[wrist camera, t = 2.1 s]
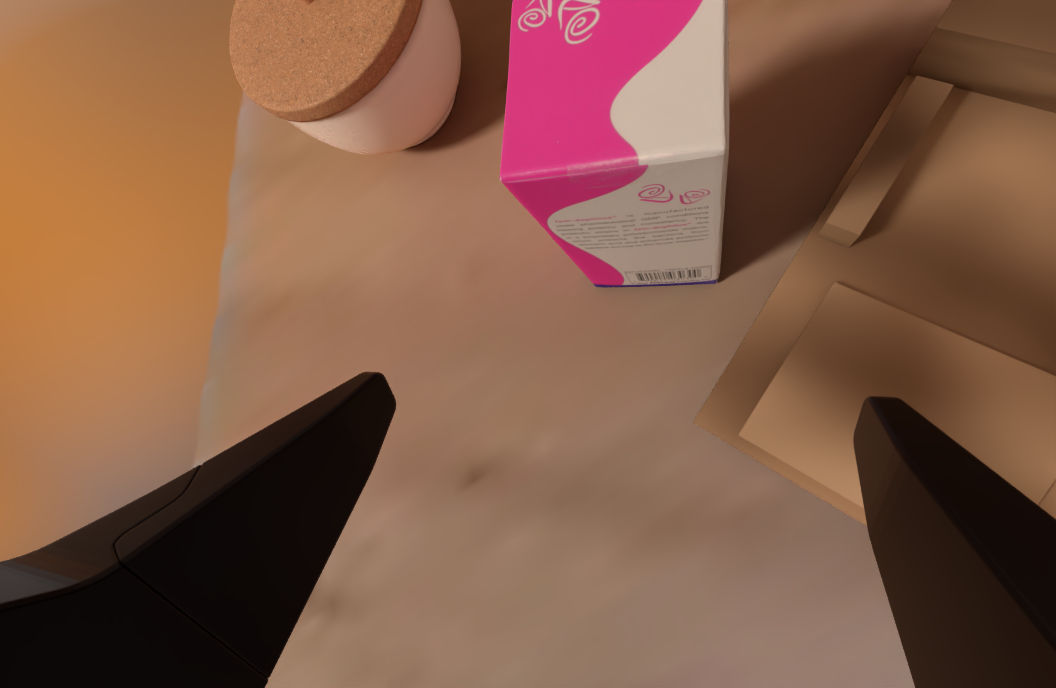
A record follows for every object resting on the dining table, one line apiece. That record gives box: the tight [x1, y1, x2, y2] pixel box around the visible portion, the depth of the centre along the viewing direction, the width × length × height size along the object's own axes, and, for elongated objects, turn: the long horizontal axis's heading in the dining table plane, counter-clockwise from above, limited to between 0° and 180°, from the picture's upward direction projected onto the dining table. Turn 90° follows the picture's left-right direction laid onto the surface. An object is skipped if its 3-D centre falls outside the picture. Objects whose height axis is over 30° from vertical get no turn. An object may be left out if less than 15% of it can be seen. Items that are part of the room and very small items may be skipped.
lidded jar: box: [229, 0, 461, 155], centre depth 24 cm, size 11×11×9 cm
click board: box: [693, 0, 1056, 526], centre depth 16 cm, size 18×12×4 cm, turn 148°
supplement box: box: [499, 0, 730, 287], centre depth 17 cm, size 6×6×11 cm
